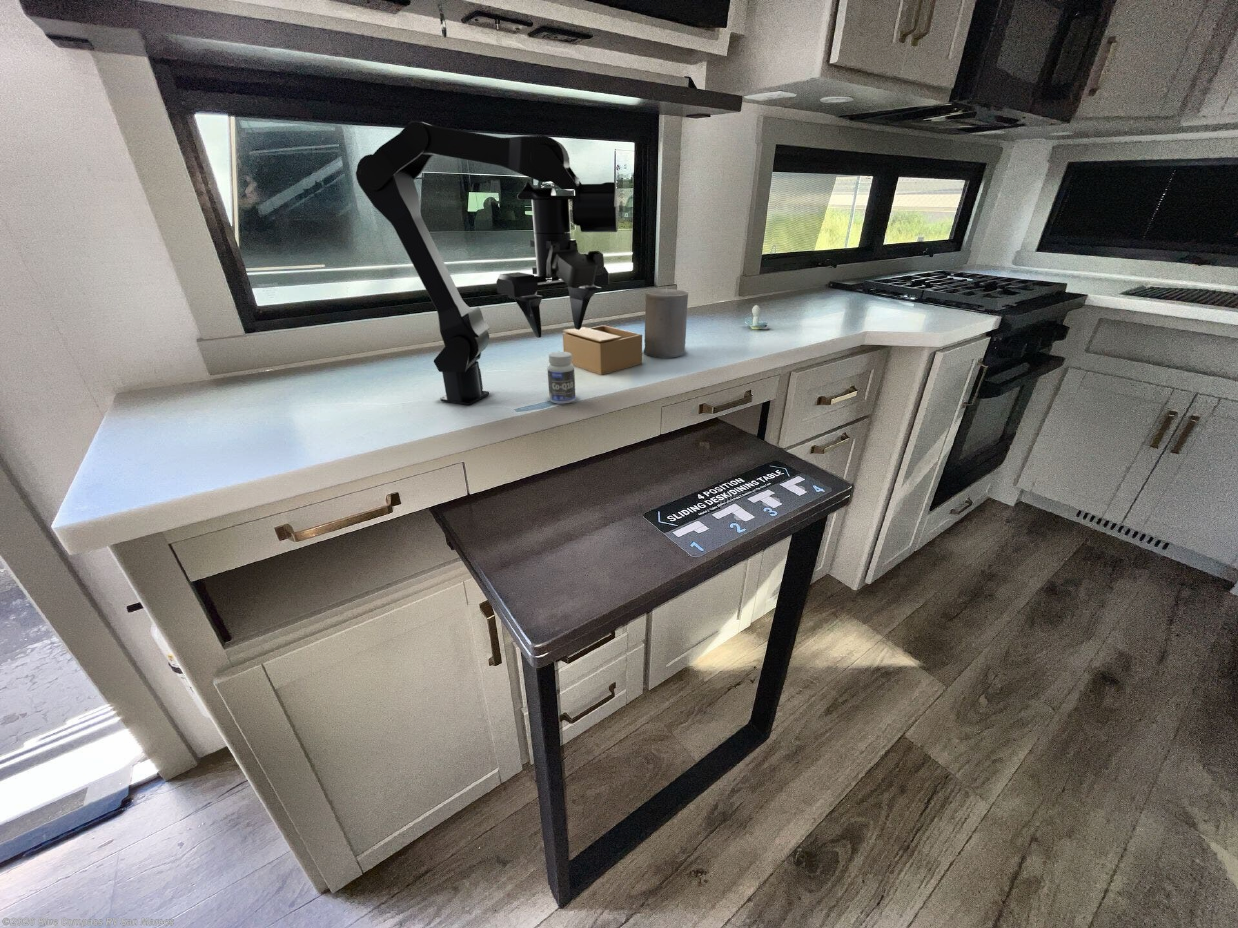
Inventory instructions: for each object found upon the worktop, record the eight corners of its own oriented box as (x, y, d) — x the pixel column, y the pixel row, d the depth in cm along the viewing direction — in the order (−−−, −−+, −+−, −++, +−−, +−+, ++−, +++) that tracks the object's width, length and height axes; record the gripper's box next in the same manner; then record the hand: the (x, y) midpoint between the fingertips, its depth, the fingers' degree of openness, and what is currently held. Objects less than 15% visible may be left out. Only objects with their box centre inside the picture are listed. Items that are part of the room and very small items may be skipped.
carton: (600, 375, 104) (600, 344, 101) (564, 362, 113) (562, 333, 110) (641, 363, 111) (642, 334, 108) (604, 352, 120) (603, 325, 117)
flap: (600, 342, 101) (600, 340, 101) (562, 331, 110) (562, 330, 110) (621, 338, 105) (621, 336, 105) (583, 328, 113) (583, 326, 113)
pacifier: (759, 325, 145) (741, 326, 143) (762, 302, 142) (744, 303, 140) (774, 330, 139) (756, 331, 137) (778, 307, 136) (760, 308, 134)
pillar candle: (635, 352, 119) (636, 286, 113) (663, 345, 125) (665, 281, 118) (666, 361, 113) (668, 291, 106) (694, 352, 119) (698, 286, 112)
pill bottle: (551, 405, 89) (548, 358, 85) (547, 396, 93) (544, 351, 89) (578, 402, 90) (575, 356, 86) (573, 394, 94) (570, 349, 90)
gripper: (530, 238, 68) (539, 352, 75) (631, 232, 79) (631, 332, 86) (489, 234, 75) (501, 339, 83) (586, 229, 86) (589, 322, 94)
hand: (558, 333), depth 86 cm, fingers open, 8 cm apart
